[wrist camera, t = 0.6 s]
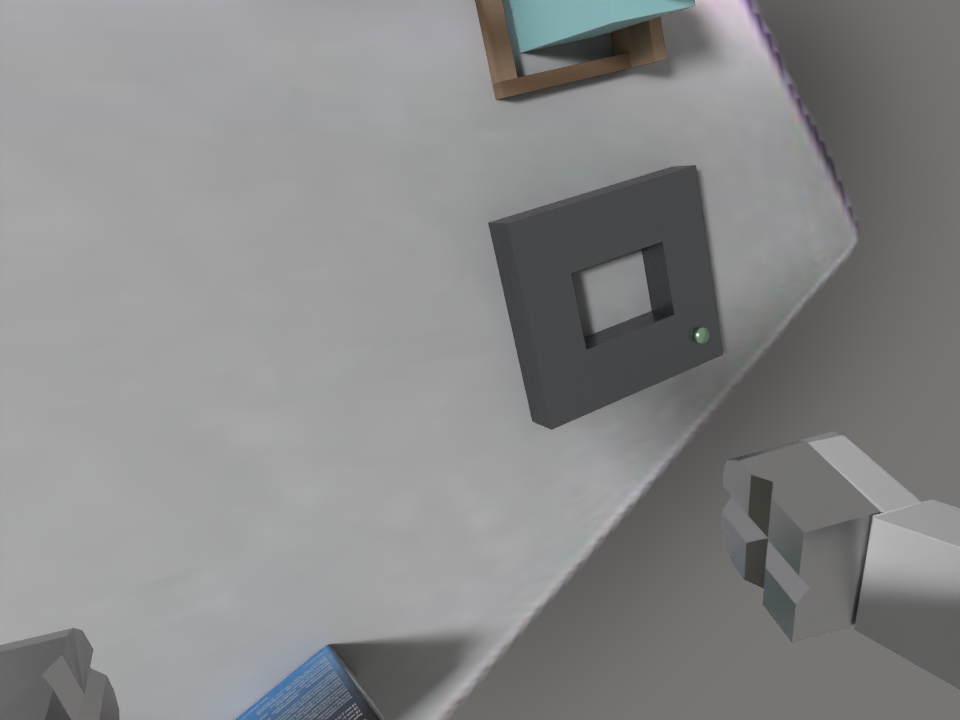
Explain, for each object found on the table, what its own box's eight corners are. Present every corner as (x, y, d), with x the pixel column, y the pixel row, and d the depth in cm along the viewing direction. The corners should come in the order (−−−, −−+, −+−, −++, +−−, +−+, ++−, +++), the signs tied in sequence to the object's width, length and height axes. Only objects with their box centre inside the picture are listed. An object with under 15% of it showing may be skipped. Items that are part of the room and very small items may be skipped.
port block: (488, 222, 54) (510, 223, 52) (672, 166, 61) (699, 164, 58) (532, 421, 59) (554, 430, 56) (700, 349, 65) (726, 355, 62)
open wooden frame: (466, -41, 51) (497, -60, 47) (607, -63, 55) (645, -81, 52) (496, 99, 53) (527, 91, 50) (628, 68, 58) (666, 59, 54)
